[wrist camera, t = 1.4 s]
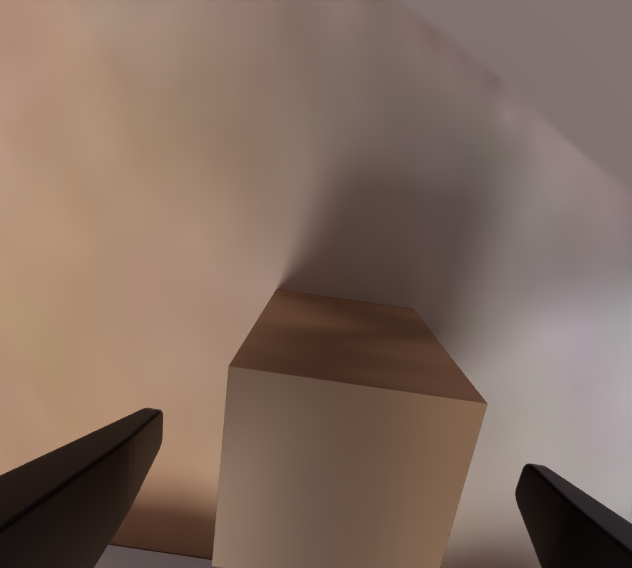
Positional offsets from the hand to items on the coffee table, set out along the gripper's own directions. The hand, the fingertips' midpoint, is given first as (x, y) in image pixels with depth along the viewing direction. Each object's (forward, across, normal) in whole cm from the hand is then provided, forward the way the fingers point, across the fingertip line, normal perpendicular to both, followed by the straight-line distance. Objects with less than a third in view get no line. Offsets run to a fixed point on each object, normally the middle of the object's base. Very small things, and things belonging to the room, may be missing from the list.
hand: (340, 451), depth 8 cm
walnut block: (+5, 0, 0) cm, 5 cm away
